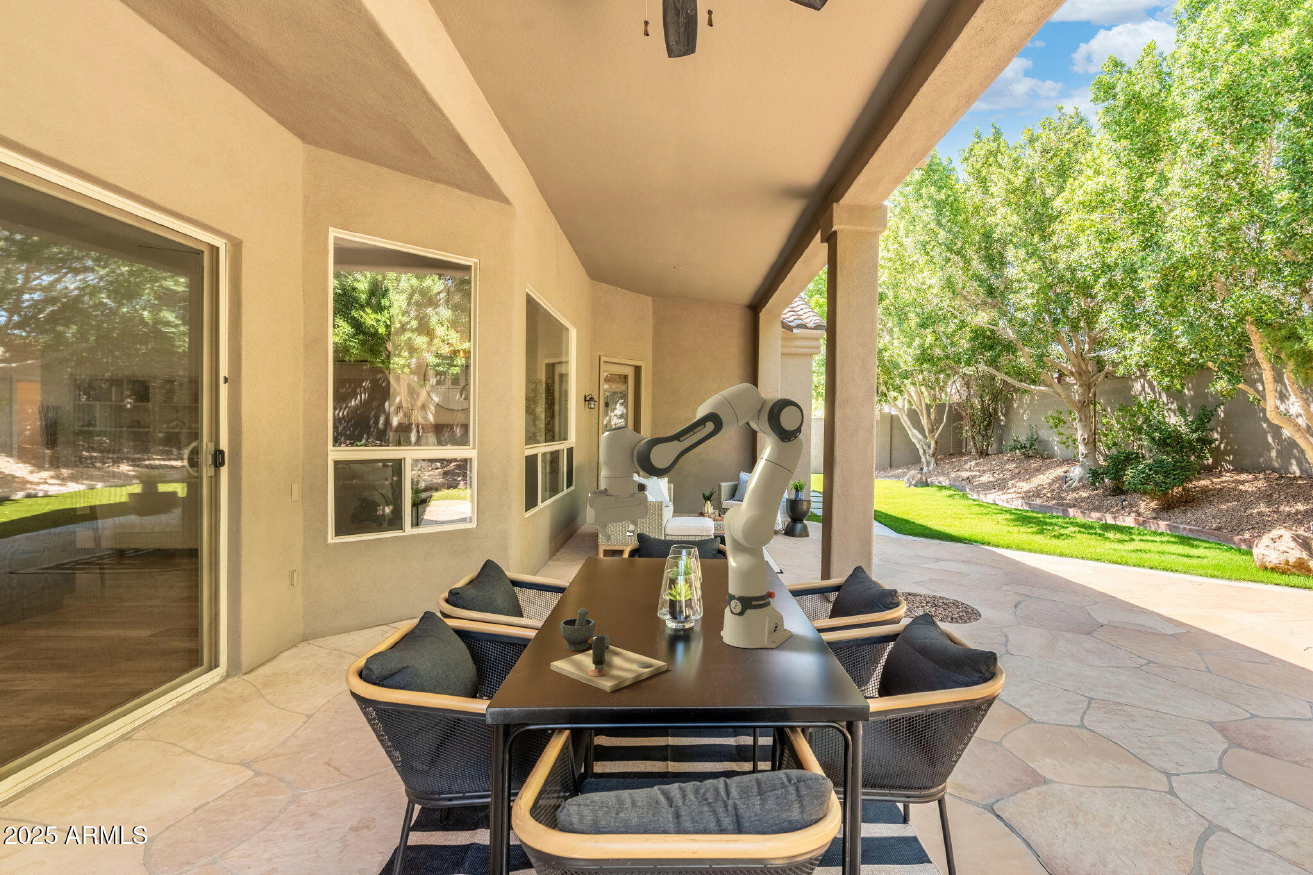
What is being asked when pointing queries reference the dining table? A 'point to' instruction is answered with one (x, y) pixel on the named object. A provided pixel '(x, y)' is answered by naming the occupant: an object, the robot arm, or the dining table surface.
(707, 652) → the dining table surface
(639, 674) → the lever board
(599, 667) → the lever
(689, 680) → the dining table surface
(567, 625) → the mortar and pestle
